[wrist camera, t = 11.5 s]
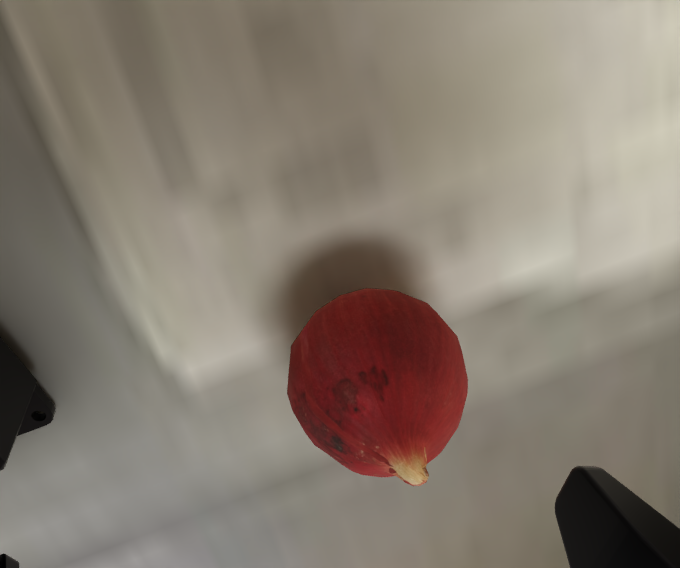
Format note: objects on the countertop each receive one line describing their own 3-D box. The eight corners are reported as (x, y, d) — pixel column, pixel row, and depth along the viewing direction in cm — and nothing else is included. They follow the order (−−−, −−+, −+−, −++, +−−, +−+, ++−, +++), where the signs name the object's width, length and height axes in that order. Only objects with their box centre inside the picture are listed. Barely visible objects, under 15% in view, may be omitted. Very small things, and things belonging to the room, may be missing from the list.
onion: (276, 376, 25) (295, 555, 19) (283, 247, 22) (309, 403, 16) (419, 372, 26) (486, 541, 20) (444, 248, 23) (533, 395, 17)
